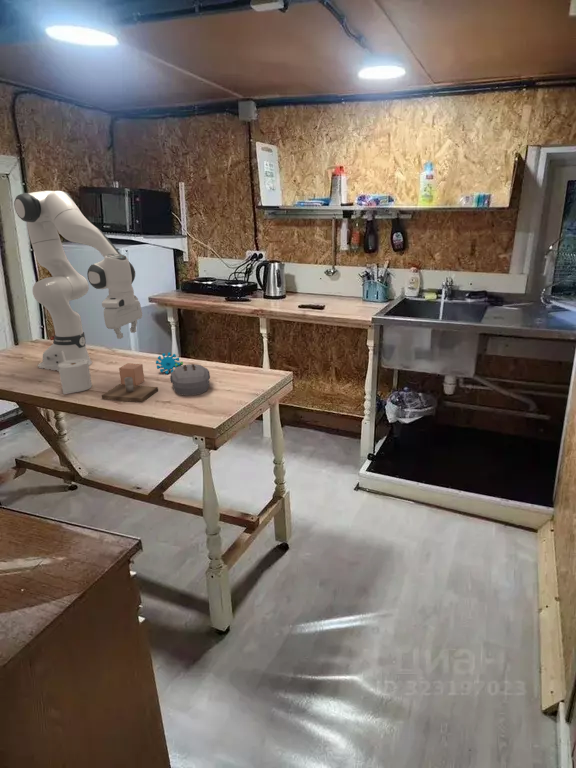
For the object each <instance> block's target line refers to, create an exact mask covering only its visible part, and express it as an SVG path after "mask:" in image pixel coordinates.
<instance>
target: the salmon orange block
mask: <svg viewBox="0 0 576 768" xmlns="http://www.w3.org/2000/svg"><path fill="white" fill-rule="evenodd" d="M118 369H119V370H118V371H119V377H120V378H119V379H120V384H125V379H124V378H126V377H132V378H133V385H138V386H140V384H142V383H143V382H145V374H144V365H143V363H131V362H130V363H129V362H127V363H126V364H123V366H121V367H119V368H118Z"/></svg>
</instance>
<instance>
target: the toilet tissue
mask: <svg viewBox="0 0 576 768" xmlns="http://www.w3.org/2000/svg"><path fill="white" fill-rule="evenodd" d="M58 368H59V371H58V372H59V373H58V374H59V378H60V383H61V389H62V394H63V395H67V394H73V393H74V394H75V393H80V392H84V391H87V390H89V389H90V388H91V389H92V386H93V385H92V383H93V382H92V377H91V371H90V365H89V364H88V361H87V360H83V359H75V360H68V361H64V362H61V363H59V364H58Z"/></svg>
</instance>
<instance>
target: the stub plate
mask: <svg viewBox="0 0 576 768" xmlns="http://www.w3.org/2000/svg"><path fill="white" fill-rule="evenodd" d="M124 379H125V384H121V383H119V384H118V385H116V386H115V387H114V386H113V388H111V389H109V390H107V391H105V393H103V394H101V400H107V399H109V400H110V401H121V402H133V403H143V402H144V401H146V400H147V399H149V398H150V397H152V396H153V395H154V394H156V393H157V392H158V391H159V387H158V386H148V385H133V378H132V377H126V378H124ZM109 400H108V401H109Z"/></svg>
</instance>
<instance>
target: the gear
mask: <svg viewBox="0 0 576 768" xmlns="http://www.w3.org/2000/svg"><path fill="white" fill-rule="evenodd" d="M161 355H162V357H163V358H161ZM161 355H159V356H157V360H156V361H155V364H156V369H157V370H159V372H160V373H164V372H165V374H166V375H169V372H170V374H171V373H172V372H173V371H174V370H175V369H176V367H179V366H183V365H184V362H183V361H180V358H179V357H177V354H175V353H173V354H172V352H167V356H166V353H165V352H163V353H161ZM174 368H175V369H174ZM165 374H164V375H165Z"/></svg>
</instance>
